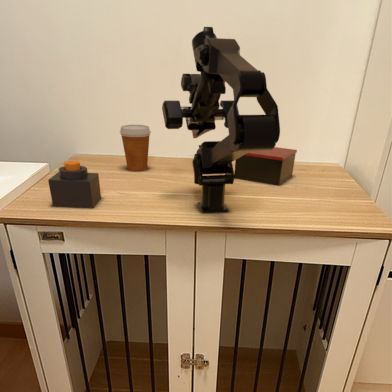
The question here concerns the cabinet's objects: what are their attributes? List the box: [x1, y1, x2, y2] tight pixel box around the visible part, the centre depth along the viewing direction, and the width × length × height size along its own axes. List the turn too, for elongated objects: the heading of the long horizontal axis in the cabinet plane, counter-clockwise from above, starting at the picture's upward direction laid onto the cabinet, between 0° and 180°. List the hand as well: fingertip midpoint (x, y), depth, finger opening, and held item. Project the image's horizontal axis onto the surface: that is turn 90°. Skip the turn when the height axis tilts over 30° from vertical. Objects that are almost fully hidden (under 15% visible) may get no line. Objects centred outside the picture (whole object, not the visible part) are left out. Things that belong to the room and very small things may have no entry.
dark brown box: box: [234, 152, 297, 186], centre depth 126 cm, size 13×15×7 cm
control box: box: [47, 165, 102, 209], centre depth 101 cm, size 10×8×8 cm
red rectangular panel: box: [245, 146, 298, 161], centre depth 124 cm, size 13×15×1 cm
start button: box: [63, 160, 81, 171], centre depth 98 cm, size 4×4×2 cm
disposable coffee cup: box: [119, 124, 152, 172], centre depth 129 cm, size 10×10×12 cm
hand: (194, 136), depth 108 cm, fingers closed
